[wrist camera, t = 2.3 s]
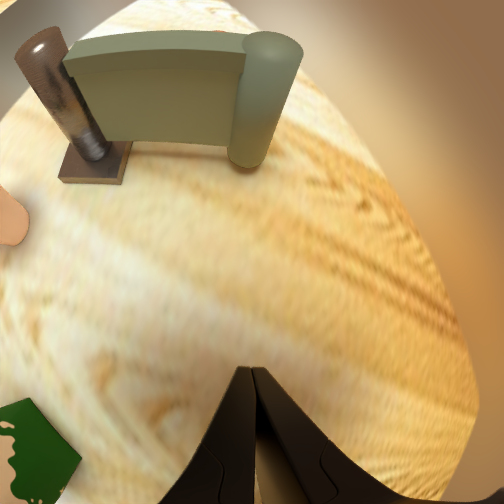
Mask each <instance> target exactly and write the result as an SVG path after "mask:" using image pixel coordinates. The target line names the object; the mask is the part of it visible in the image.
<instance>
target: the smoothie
mask: <svg viewBox="0 0 504 504" xmlns="http://www.w3.org/2000/svg"><path fill="white" fill-rule="evenodd" d="M28 228H29V215H28V212H27V211H26V209H25V208H24V207H22V206H21V205H20V204H19V203H18V202H17V201H16V200H15V199H14V198H13V197H12V196H11V195H10V194H9V193H8V192H7V191H6V190H5V189H4V188H3V187H2V186H1V185H0V244H5V245H12V246H15V245H17V244H19V243H20V242H21V241H22V240H23V239H24V238H25V236H26V234H27V231H28Z"/></svg>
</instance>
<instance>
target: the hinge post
mask: <svg viewBox="0 0 504 504" xmlns="http://www.w3.org/2000/svg"><path fill="white" fill-rule="evenodd" d="M68 52H69V51H68V48H67V46H66V44H65V41H64V39H63V36H62V34H61V31H60V29H59V27H50V28H47V29H44V30H42V31H40V32H39V33H37V34H35V35H34V36H32V37H31V38H30V39H29V40H27V41H26V42H25V43H24V44H23V45H22V46H21V47H20V48H19V50H18V51H17V53H16V55H15V61H16V63H17V64H18V66H19V68H20V69H21V71H22V72H23V74H24V75H25V77H26V79H27V80H28V82H29V84H30V85H31V87H32V88H33V90H34V91H35V93H36V94H37V96H38V97H39V99H40V100H41V102H42V103H43V105H44V106H45V108H46V109H47V111H48V112H49V113H50V115H51V116H52V118H53V119H54V121H55V122H56V123H57V125H58V126H59V128H60V129H61V130H62V132H63V133H64V135H65V136H66V137H67V139H68V140H69V141H70V143H69V146H68V149H67V151H66V154H65V157H64V160H63V163H62V166H61V169H60V172H59V175H58V178H59V179H60V180H61V181H62V182H63V183H92V184H119V185H121V182H122V178H123V174H124V170H125V167H126V163H127V159H128V156H129V152H130V149H131V146H132V142H133V141H107V140H106V138H105V137H104V135H103V133H102V131H101V129H100V127H99V126H98V124H97V122H96V120H95V118H94V116H93V114H92V112H91V111H90V109H89V107H88V105H87V103H86V101H85V99H84V97H83V95H82V93H81V91H80V89H79V87H78V85H77V83H76V81H75V79H74V77H73V76H72V77H70V76H69V74H68V72H67V70H66V68H65V66H64V64H63V62H62V60H63V59H64V57H65V56H66V55H67V53H68Z"/></svg>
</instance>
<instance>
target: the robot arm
mask: <svg viewBox="0 0 504 504" xmlns="http://www.w3.org/2000/svg"><path fill="white" fill-rule="evenodd" d="M255 469H256V474H257V479H258V484H259V489H260V494H261V499H262V504H504V487H501V488H499V489H498V490H496V491H495V492H494V493H493V494H491V495H490V496H489V497H487V498H486V499H484V500H480V501H475V502H445V501H432V500H422V499H414V498H409V497H405V496H403V495H400V494H398V493H396V492H394V491H393V490H391V489H390V488H388V487H387V486H385V485H384V484H382V483H381V482H380V481H378V480H377V479H375V478H374V477H373V476H371V475H370V474H368V473H367V472H366V471H364V470H363V469H362V468H361V467H359V466H358V465H357V464H356V463H354V462H353V461H352V460H351V459H349V458H348V457H347V456H346V455H345V454H344V453H343V452H342V451H341V450H340V449H339V448H338V447H337V446H336V445H335V444H334V443H333V442H332V441H331V440H328V437H327V436H326V435H325V434H324V433H323V432H322V431H321V430H320V429H319V428H318V427H317V426H316V424H315V423H314V422H313V421H312V420H311V419H310V418H309V417H308V416H307V415H306V414H305V413H304V411H303V410H302V409H301V408H300V407H299V406H298V405H297V404H296V403H295V401H294V400H293V399H292V398H291V397H290V396H289V395H288V394H287V392H286V391H285V390H284V389H283V388H282V387H281V386H280V384H279V383H278V382H277V381H276V380H275V379H274V378H273V376H272V375H271V374H270V373H269V372H268V370H267V369H266V368H264V367H252V368H250V367H249V366H238V367H237V368H236V370H235V372H234V374H233V376H232V378H231V381H230V383H229V385H228V387H227V389H226V391H225V393H224V395H223V397H222V399H221V401H220V404H219V406H218V408H217V410H216V412H215V414H214V416H213V418H212V420H211V422H210V424H209V426H208V428H207V430H206V432H205V434H204V436H203V438H202V440H201V443H199V445H198V447H197V449H196V451H195V453H194V455H193V457H192V458H191V460H190V462H189V464H188V465H187V467H186V468H185V470H184V471H183V473H182V474H181V475H180V477H179V478H178V480H177V481H176V482H175V483H174V485H173V486H172V487H171V488H170V490H169V491H168V492H167V493H166V495H165V496H164V497H163V498H162V499H161V501H160V502H159V503H158V504H254V484H255Z"/></svg>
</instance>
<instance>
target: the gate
mask: <svg viewBox="0 0 504 504" xmlns="http://www.w3.org/2000/svg"><path fill="white" fill-rule="evenodd" d="M302 57H303V49H302V47H301V46H300V45H299V44H298V43H297V42H296V41H295V40H293V39H292V38H290V37H288V36H285V35H283V34H280V33H276V32H269V31H261V32H255V33H251V34H249V35H247V34H239V33H229V32H216V31H193V30H169V31H147V32H134V33H124V34H116V35H109V36H102V37H96V38H90V39H85V40H80V41H76V42H75V44H74V45H73V46H72V48H71V49H70V50H69V52H68V53H67V55H66V56H65V57H64V59H63V60H62V62H63V64H64V66H65V68H66V70H67V72H68V74H69V76H70V77H72V76H73V77H74V79H75V81H76V83H77V85H78V87H79V89H80V91H81V93H82V95H83V97H84V99H85V101H86V103H87V105H88V107H89V109H90V111H91V112H92V114H93V116H94V118H95V120H96V122H97V124H98V126H99V127H100V129H101V131H102V133H103V135H104V137H105V138H106V140H107V141H152V142H174V143H190V144H203V145H214V146H224V147H228V148H227V153H228V156H229V158H230V160H231V161H232V162H233V163H234V164H236V165H238V166H240V167H244V168H252V167H255V166H258V165H259V164H261V163H262V162H263V160H264V158H265V156H266V153H267V150H268V148H269V145H270V142H271V140H272V137H273V134H274V131H275V129H276V126H277V123H278V121H279V118H280V115H281V113H282V110H283V107H284V105H285V102H286V99H287V97H288V94H289V91H290V89H291V86H292V84H293V81H294V78H295V76H296V73H297V71H298V68H299V65H300V63H301V60H302Z"/></svg>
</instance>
